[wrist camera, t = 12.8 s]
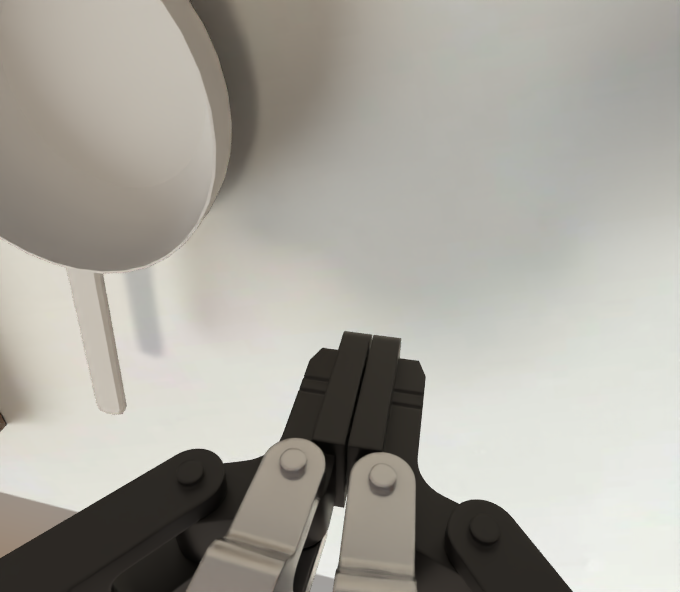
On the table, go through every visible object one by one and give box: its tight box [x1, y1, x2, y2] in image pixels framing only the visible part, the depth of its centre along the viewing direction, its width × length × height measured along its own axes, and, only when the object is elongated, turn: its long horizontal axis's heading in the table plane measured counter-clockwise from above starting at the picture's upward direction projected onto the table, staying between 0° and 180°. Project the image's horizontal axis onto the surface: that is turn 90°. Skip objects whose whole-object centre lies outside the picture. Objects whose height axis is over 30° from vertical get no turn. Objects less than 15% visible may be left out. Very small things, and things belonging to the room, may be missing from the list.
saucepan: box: [0, 0, 232, 415], centre depth 18 cm, size 11×18×4 cm, turn 175°
